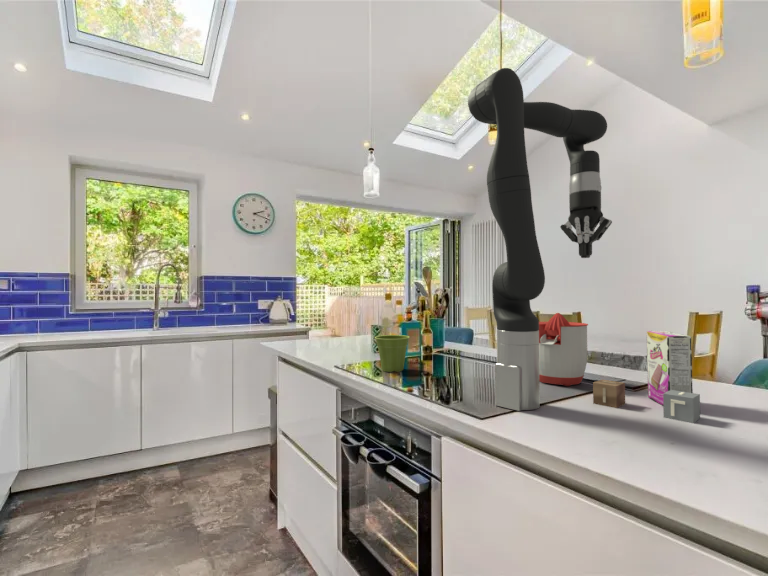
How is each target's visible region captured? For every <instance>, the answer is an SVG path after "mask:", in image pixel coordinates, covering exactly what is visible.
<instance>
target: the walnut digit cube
mask: <svg viewBox="0 0 768 576" xmlns="http://www.w3.org/2000/svg"><path fill="white" fill-rule="evenodd" d="M592 394H593V395H592V396H593V397H592V402H593V405H599V406H604V407H607V408H608V407H609V408H613V409H618V408H620V407H622V406H624V405H626V383H625V382H622V381H614V380H607V379H603V378H602V379H598V380H596V381H594V382H592Z"/></svg>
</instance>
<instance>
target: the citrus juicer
mask: <svg viewBox="0 0 768 576" xmlns="http://www.w3.org/2000/svg"><path fill="white" fill-rule="evenodd" d="M588 326H589V324H588V323H585V322H573V321H568V320H567V319H566V318H565V316H563V315H562V314H561V313H559V312H557V313H556V312H555V314H553V316H552V317H551V318H549V320H547V321H539V383H541V384H552V385H558V386H559V385H560V386H561V385H562V386H564V387H571V386H572V385H579V384H580V383H582V380H583V379H584V376H585V371H586V370H587V369H586V368H587V364H588Z"/></svg>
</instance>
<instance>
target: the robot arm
mask: <svg viewBox="0 0 768 576" xmlns="http://www.w3.org/2000/svg"><path fill="white" fill-rule="evenodd" d="M522 85H523V84H522V82H521V79H520V78H519V75H518V74H517V73H516V71H514V70H513V69H512V68H508V67H503V68H500V69H498V70H496V71H494V72H493V73H492V74H490V75H489V76H488V77H486V78H485V79H484V80H482V81H480V82H479V83H478V84H477V85H476V86H475V87H474V88H473V89H471V91H470V93H469V94H468V98H467V106H468V111H469V113H470V114H471V116H472V117H473V118H474V119H475V120H476V121H478V122H480V123H483V124H485V125H486V124H487V125H496V138H495V143H494V147H493V150H492V154H491V157H490V161H489V163H488V167H487V172H486V173H487V174H486V185H487V194H488V196H487V197H488V203H489V207H490V211H491V212H492V215H493V217H494V219H495V221H496V223H497V224H498V226H499V229H500V231H501V233H502V236H503V237H504V238H503V239H504V243H505V244H504V245H505V250H506V262H503V263H501V264H500V265H499V266H498V267H497V268H496V269H495V271H494V273H493V276H492V283H491V284H492V285H491V287H492V290H491V291H492V310H493V311H492V312H493V316H494V319H495V321H496V359H497V360H496V363H495V364H494V366H495V367H494V372H495V373H494V375H495V376H494V379H495V381H494V383H495V384H494V386H495V389H494V391H495V393H494V394H495V396H494V397H495V398H494V399H495V403H494V405H495V406H497V407H502V408H505V409H510V410H514V411H518V412H521V411H529V410H532V411H533V410H536V409H539V408H540V406H541V405H540V404H541V403H540V402H541V400H540V399H541V398H540V397H541V396H540V393H541V392H540V387H541V386H540V381H539V322H540V321H539V318H538V317H537V315H535V314H534V312H533V311H532V308H531V301H533V300H535V299H537V298H538V297H539V296H541V293H542V292H543V290H544V288H545V283H546V276H545V268H544V264H543V261H542V256H541V251H540V247H539V243H538V239H537V233H536V225H535V215H534V210H533V201H532V188H531V179H530V175H529V174H530V173H529V168H528V167H529V166H528V160H527V150H526V149H527V148H526V140H525V138H526V137H525V129H528V130H533V131H536V132H540V133H543V134H547V135H550V136H553V137H556V138H562V140H563V143H564V147H565V149H566V153H567V156H568V160H569V164H570V167H569V175H570V177H569V186H568V187H569V189H568V191H569V193H568V194H569V195H568V196H569V197H568V200H569V206H568V207H569V216H568V218H567V219H568V220H567V222H565V223H564V224H561V225H560V226H559V227H560V229H561V230H562V232H563V233H564V234H565V236H567V237H568V239H569V240H570V241H571V242H573V243H576V244H578V255H579V256H580V258H581V259H589V258H590V257H591V256H592V254H593V243H594V242H596V241H600V239H602V237H603V235H604V234H605V233H606V231H607V230H608V229H609V227H610V226H611V225H612V224H613V221H612V220H611V219H609V218H606V217H605V216H604V213H603V212H602V182H601V181H602V180H601V176H600V175H601V174H600V172H601V171H600V170H601V169H600V155H599V153H598V152H597V151H595V150H585V149H584V145H589V144H590V143H593V142H595V141H598V140H600V139H602V137H604V136H605V134H606V133H607V130H608V122H607V120H606V118H605V116H604V115H602V114H601V113H600V112H598V111H596V110H595V111H594V110H589V109H571V108H569V107H566V106H563V105H561V104H558V103H555V102H550V101H548V102H547V101H525V99H524V91H523V86H522ZM598 225H599V226H598ZM573 228H574V230H575V232H574V231H573Z"/></svg>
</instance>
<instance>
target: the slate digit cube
mask: <svg viewBox="0 0 768 576" xmlns="http://www.w3.org/2000/svg"><path fill="white" fill-rule="evenodd" d="M662 406H663V407H662V408H663V418H664V419H669V420H675V421H679V422H683V423H684V422H685V423H689V424H690V423H691V424H695V423H696V422H697V421H699V420H700V419H701V394H700V393H694V392H693V393H688V392H682V391H675V390H670V391H668V392H666V393H664V394H663V405H662Z"/></svg>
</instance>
